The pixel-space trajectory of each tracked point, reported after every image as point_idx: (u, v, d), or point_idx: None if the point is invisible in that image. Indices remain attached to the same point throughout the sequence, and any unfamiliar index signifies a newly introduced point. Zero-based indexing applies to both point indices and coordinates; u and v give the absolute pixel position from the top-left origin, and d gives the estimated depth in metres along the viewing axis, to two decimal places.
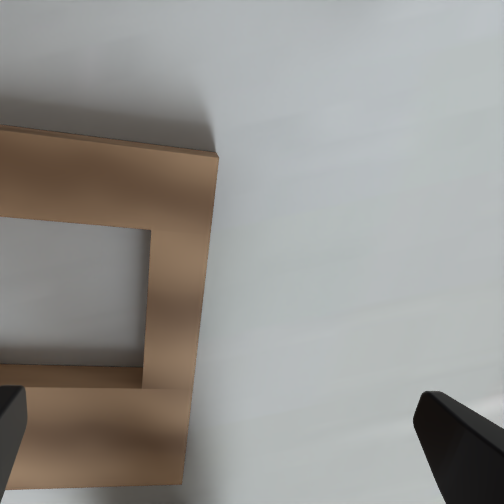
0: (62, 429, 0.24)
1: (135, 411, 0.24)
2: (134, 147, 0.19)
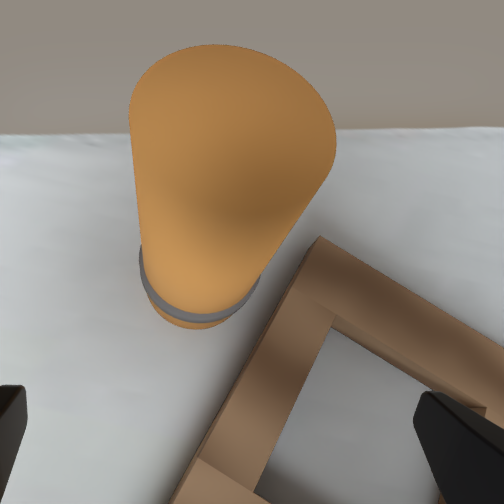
0: None
1: None
2: (486, 338, 0.24)
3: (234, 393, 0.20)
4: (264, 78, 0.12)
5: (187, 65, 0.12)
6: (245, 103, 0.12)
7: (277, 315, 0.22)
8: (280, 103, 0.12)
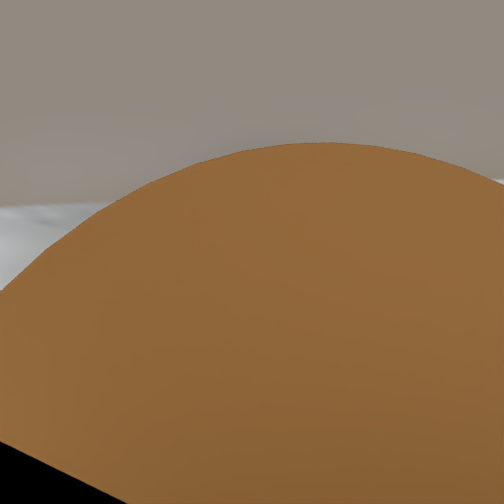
0: None
1: None
2: None
3: None
4: (494, 281, 0.03)
5: (183, 261, 0.03)
6: (456, 446, 0.02)
7: None
8: None
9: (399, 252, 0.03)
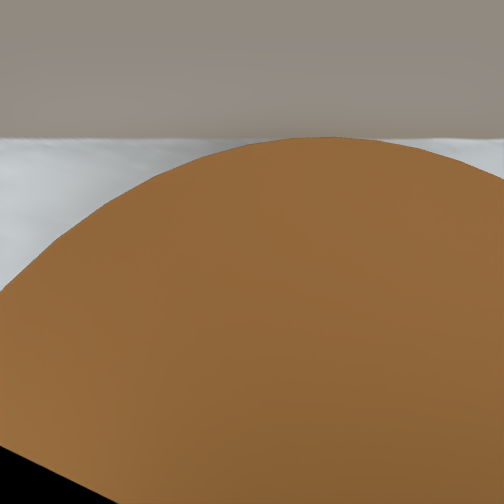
0: None
1: None
2: None
3: None
4: (494, 273, 0.03)
5: (189, 252, 0.03)
6: (458, 431, 0.03)
7: None
8: None
9: (401, 244, 0.03)
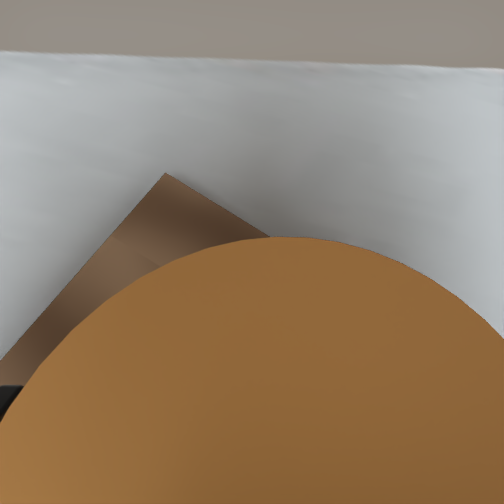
0: None
1: None
2: None
3: None
4: (386, 341, 0.04)
5: (163, 334, 0.04)
6: (345, 458, 0.04)
7: (80, 272, 0.16)
8: (441, 432, 0.04)
9: (317, 321, 0.04)
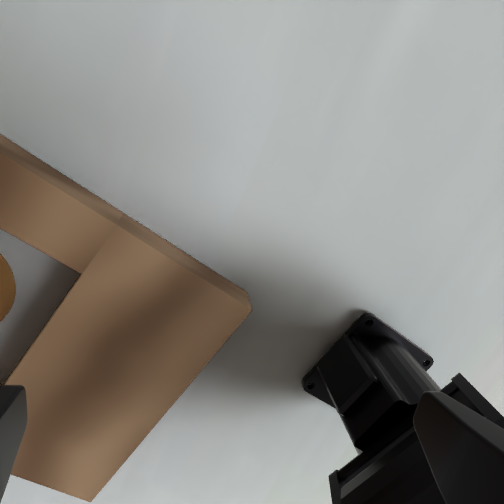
0: (91, 369, 0.21)
1: (110, 297, 0.19)
2: None
3: None
4: None
5: None
6: None
7: None
8: None
9: None
